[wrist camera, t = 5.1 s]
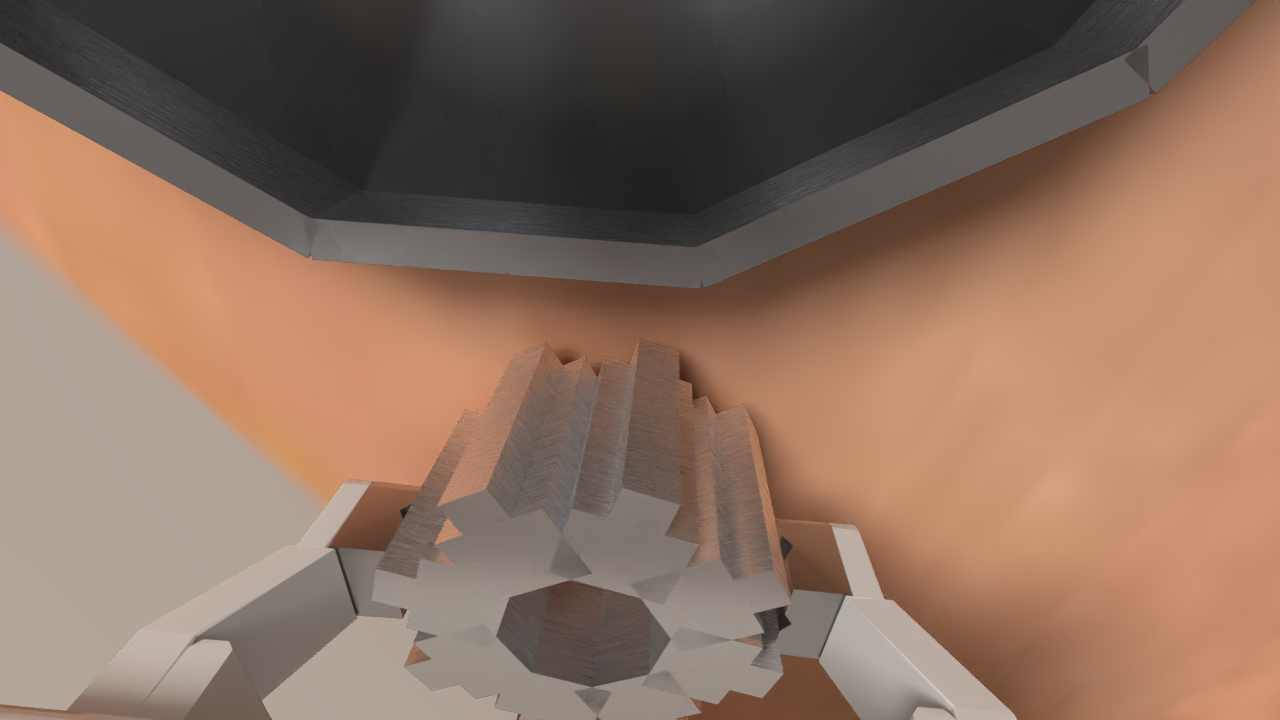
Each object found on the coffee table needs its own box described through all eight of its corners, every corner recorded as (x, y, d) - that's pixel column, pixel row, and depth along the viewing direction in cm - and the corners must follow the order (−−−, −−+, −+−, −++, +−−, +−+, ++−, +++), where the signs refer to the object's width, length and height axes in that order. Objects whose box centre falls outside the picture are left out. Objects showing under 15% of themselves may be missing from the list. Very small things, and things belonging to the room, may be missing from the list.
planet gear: (800, 523, 13) (847, 705, 9) (556, 591, 14) (519, 765, 11) (685, 282, 10) (690, 416, 6) (398, 405, 12) (281, 561, 8)
